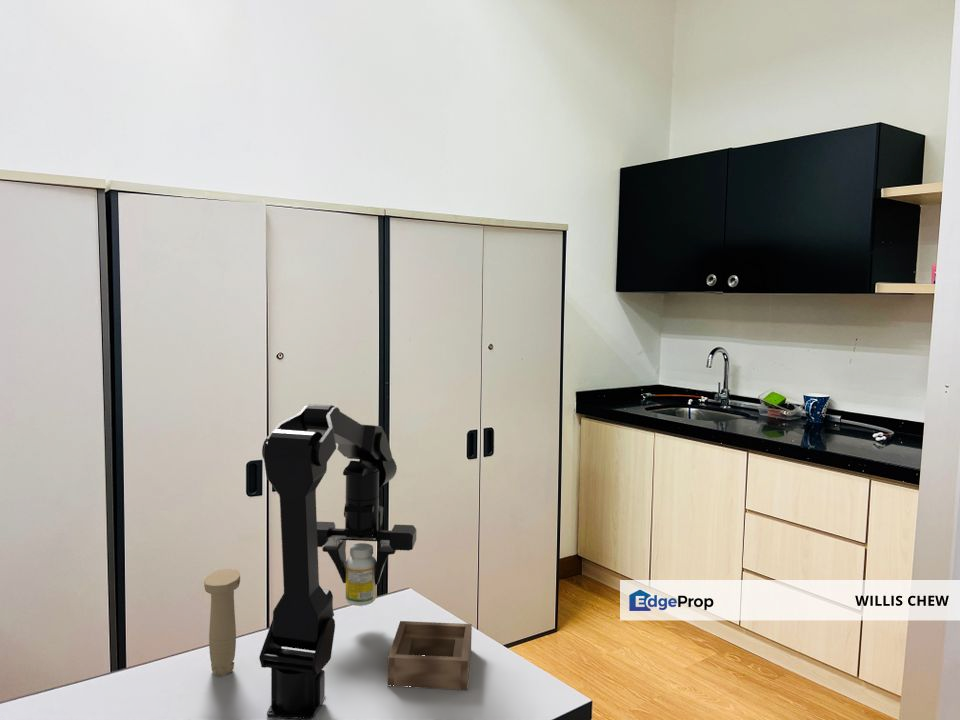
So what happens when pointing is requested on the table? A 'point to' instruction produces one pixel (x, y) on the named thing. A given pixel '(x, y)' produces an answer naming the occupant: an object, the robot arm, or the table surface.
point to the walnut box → (430, 655)
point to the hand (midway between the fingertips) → (360, 583)
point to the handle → (222, 619)
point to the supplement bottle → (360, 575)
